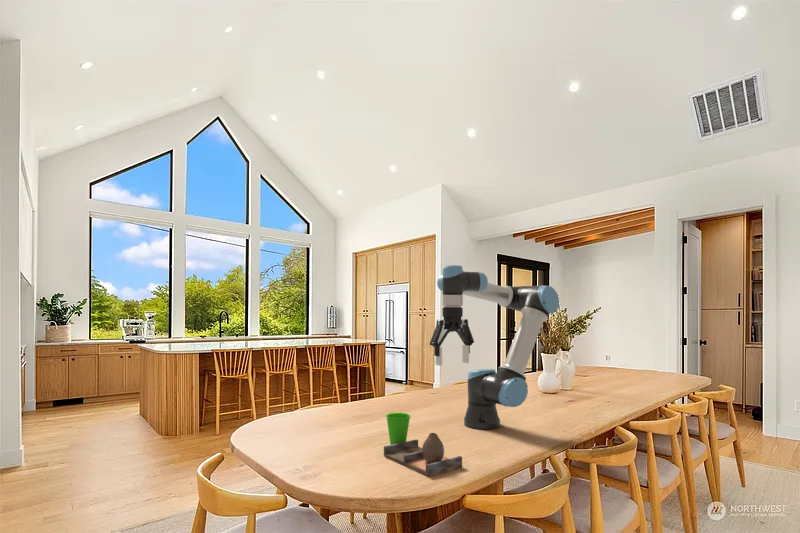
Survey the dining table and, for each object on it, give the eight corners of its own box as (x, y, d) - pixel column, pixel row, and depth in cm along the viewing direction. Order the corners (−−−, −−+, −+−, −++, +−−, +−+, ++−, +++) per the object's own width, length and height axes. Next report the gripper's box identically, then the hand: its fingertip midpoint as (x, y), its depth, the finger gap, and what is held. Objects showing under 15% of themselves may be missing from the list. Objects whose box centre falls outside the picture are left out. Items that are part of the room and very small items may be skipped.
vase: (418, 460, 152) (418, 431, 152) (438, 457, 154) (438, 430, 155) (427, 467, 145) (427, 437, 146) (447, 464, 148) (447, 435, 148)
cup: (396, 441, 175) (396, 411, 176) (415, 446, 170) (415, 415, 171) (380, 447, 168) (380, 415, 169) (399, 452, 163) (400, 419, 164)
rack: (416, 448, 167) (416, 439, 167) (462, 467, 149) (462, 456, 149) (383, 456, 159) (383, 446, 159) (427, 476, 140) (427, 465, 141)
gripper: (469, 306, 188) (469, 360, 186) (420, 306, 173) (420, 365, 172) (483, 306, 182) (483, 362, 180) (433, 306, 167) (433, 367, 166)
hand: (452, 364), depth 176 cm, fingers open, 13 cm apart
